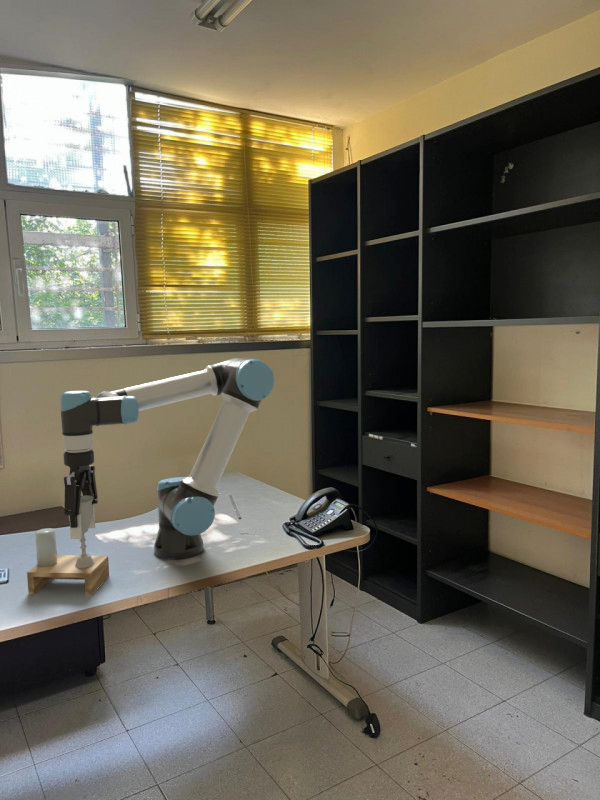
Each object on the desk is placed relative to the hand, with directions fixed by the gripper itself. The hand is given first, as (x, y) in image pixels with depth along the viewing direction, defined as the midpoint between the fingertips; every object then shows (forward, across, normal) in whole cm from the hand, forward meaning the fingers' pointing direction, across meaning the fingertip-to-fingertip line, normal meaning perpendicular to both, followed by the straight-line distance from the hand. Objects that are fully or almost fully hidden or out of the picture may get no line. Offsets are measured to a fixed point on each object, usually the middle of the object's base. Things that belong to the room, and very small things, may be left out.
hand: (83, 532), depth 158 cm
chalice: (+9, 0, 0) cm, 9 cm away
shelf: (+15, 0, -4) cm, 15 cm away
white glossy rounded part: (+9, 0, -10) cm, 14 cm away
